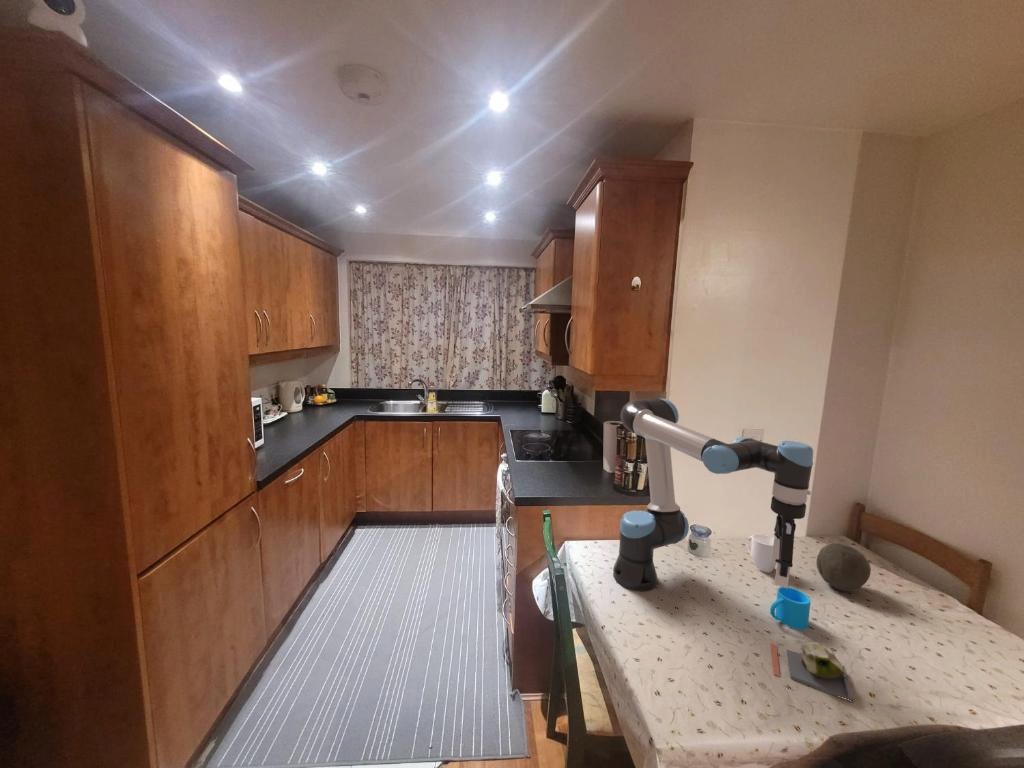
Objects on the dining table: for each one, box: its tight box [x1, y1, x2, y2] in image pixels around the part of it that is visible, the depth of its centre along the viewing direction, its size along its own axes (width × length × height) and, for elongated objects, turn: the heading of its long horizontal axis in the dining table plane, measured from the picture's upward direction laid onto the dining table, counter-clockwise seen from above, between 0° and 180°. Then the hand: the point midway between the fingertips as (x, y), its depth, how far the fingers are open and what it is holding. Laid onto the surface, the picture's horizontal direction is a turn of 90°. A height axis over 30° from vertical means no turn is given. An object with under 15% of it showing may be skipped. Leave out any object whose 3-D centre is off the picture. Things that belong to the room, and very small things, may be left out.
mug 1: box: [745, 533, 777, 573], centre depth 144 cm, size 12×9×12 cm
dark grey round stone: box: [815, 542, 872, 592], centre depth 132 cm, size 14×14×15 cm
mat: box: [786, 649, 855, 703], centre depth 96 cm, size 12×10×2 cm
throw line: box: [770, 642, 781, 678], centre depth 101 cm, size 1×12×1 cm, turn 149°
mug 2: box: [769, 586, 812, 630], centre depth 116 cm, size 12×8×8 cm
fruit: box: [800, 641, 849, 679], centre depth 96 cm, size 9×9×8 cm
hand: (778, 572), depth 104 cm, fingers open, 13 cm apart
